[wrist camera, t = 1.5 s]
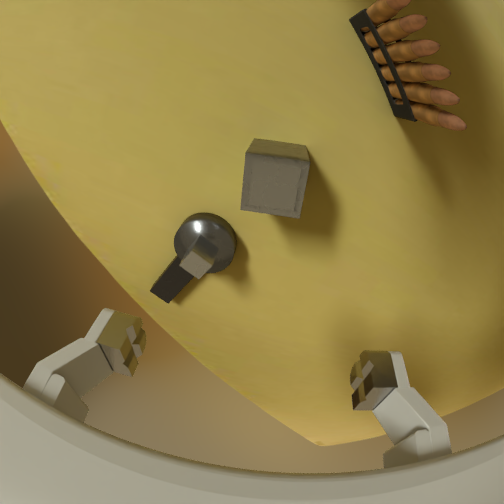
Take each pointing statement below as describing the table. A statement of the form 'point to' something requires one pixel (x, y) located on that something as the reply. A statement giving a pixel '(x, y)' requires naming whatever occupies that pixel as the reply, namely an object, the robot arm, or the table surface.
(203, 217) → the ratchet
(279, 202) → the socket
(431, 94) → the ammunition clip
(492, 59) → the table surface
